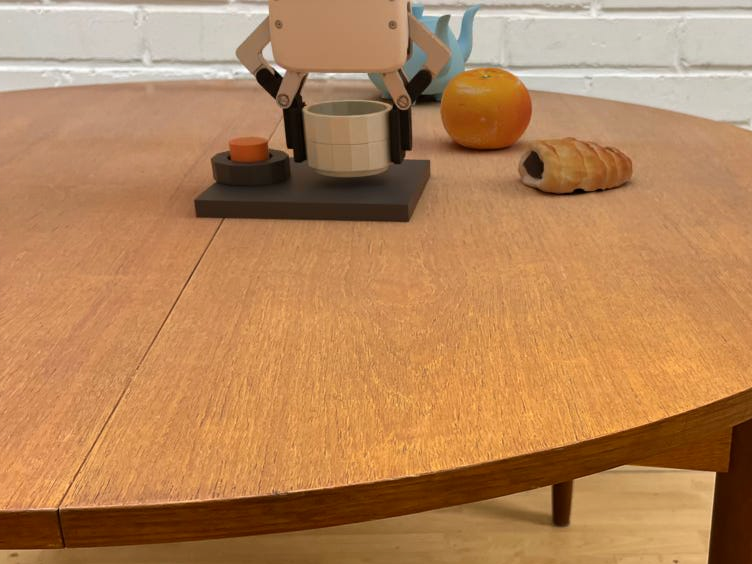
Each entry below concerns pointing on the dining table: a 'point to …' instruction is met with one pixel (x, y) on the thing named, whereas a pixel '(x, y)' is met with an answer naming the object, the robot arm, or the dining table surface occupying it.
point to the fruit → (486, 108)
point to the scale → (310, 191)
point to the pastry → (573, 166)
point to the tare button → (249, 149)
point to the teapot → (443, 32)
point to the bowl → (347, 137)
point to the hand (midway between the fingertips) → (350, 157)
